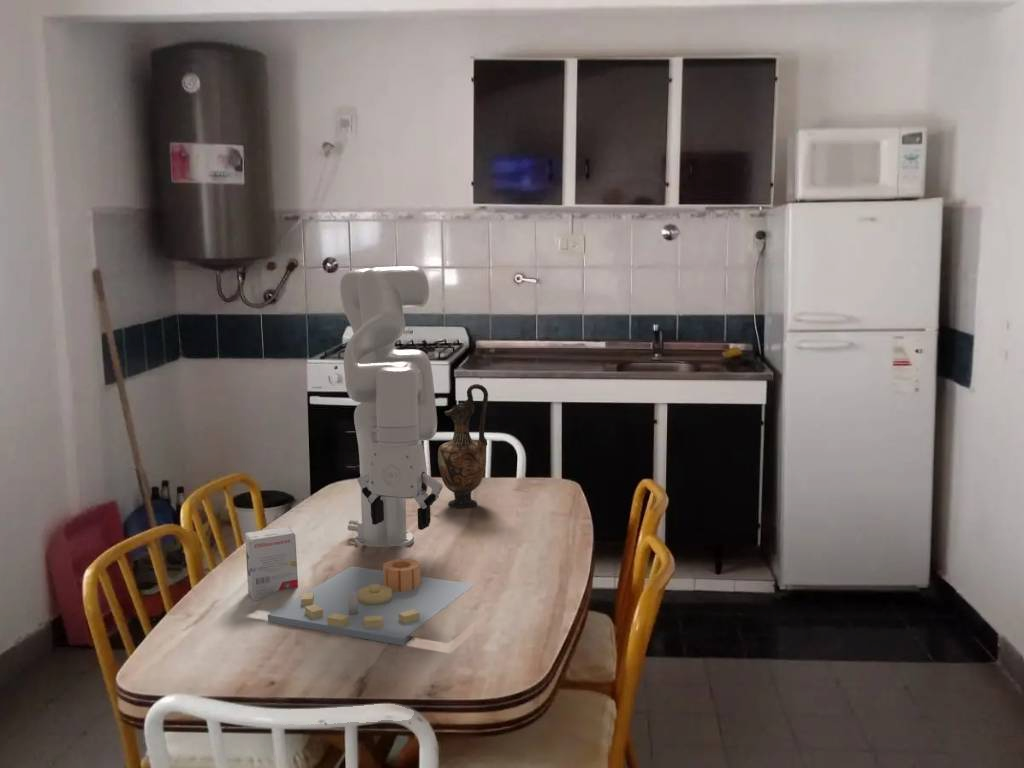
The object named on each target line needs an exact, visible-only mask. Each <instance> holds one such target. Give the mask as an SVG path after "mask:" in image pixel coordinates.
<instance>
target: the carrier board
mask: <svg viewBox="0 0 1024 768" xmlns="http://www.w3.org/2000/svg"><path fill="white" fill-rule="evenodd" d="M420 584H421V585H420V586H419V587H418V588H416V589H412V590H410V591H404V592H401V591H399V592H396V591H392V590H391V588H390V587H387V586H383V570H379V569H374V568H373V569H372V568H368V567H366V568H365V567H359V566H353V565H351V566H349V567H348V568H346V569H344V570H343V571H340V572H339V573H337V574H336V575H333V576H332V577H331V578H329V579H327V580H325V581H324V582H322V583H320V584H318V585H317V586H314V587H313V588H312V589H309V590H308V591H307V592H301V593H302V594H301V595H299V596H297V597H296V598H294V599H292V600H291V601H289V602H287V603H286V604H284V605H282V606H280V607H279V608H276V609H275V610H273V611H272V612H270V613H268V614H267V622H270V623H271V622H272V623H276V624H281V625H288V626H290V627H292V626H293V627H298V628H302V629H303V628H304V629H308V630H309V629H310V630H315V631H320V632H324V633H330V634H335V635H341V636H347V637H352V638H358V639H363V640H368V641H369V640H370V641H375V642H381V643H385V644H392V645H396V646H401V647H402V646H403V647H404V646H405V645H406V644H408V643H409V642H410V641H412V640H413V639H414V638H415V636H412V635H411V634H412V633H413V632H415V631H416V630H417V629H418V628H420V627H421V626H423V625H424V624H425V623H426V622H428V621H429V620H430V619H432V618H433V617H434V616H436V615H437V614H438V613H440V612H441V611H442V610H444V609H445V608H446V607H448V606H449V605H450V604H451V603H453V602H454V601H456V600H457V599H458V598H460V597H461V596H462V595H464V593H466V592H467V591H469V590H470V589H472V588H473V587H475V583H474V584H473V583H466V582H460V581H456V580H454V581H452V580H447V579H439V578H433V577H428V576H427V577H425V576H421V575H420Z"/></svg>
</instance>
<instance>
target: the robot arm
mask: <svg viewBox="0 0 1024 768" xmlns="http://www.w3.org/2000/svg"><path fill="white" fill-rule="evenodd" d="M339 289H340V290H339V291H340V299H341V303H342V307H343V311H344V314H345V316H346V318H347V320H348V322H349V325H350V328H351V330H352V332H353V335H351V337H350V339H349V340H348V341H347V344H346V346H345V350H344V354H343V368H344V369H343V370H344V373H343V374H344V382H345V388H346V392H347V396H348V397H349V398H350V399H351V400H352V401H353V402H357V403H359V404H358V405H357V406H356V407H355V409H354V412H353V420H354V421H353V422H354V427H355V429H354V430H355V432H356V438H357V439H356V440H357V446H358V455H359V458H358V459H359V474H360V476H359V477H358V478H357V482H358V485H359V487H360V505H361V506H360V508H361V520H359V519H356V518H355V519H354V518H353V519H352V518H350V519H349V521H348V525H347V530H348V531H352V532H356V533H357V535H356V536H355V538H354V544H355V546H357V547H360V546H367V547H374V548H375V547H379V548H380V547H381V548H384V547H394V546H395V547H402V548H407V547H409V546H410V545H412V544H413V543H414V540H415V537H414V534H413V533H411V532H410V531H408V530H407V510H406V509H407V506H406V505H407V503H406V502H407V500H411V499H414V500H415V502H416V503H417V504H418V506H419V508H417V529H418V530H419V531H422V530H424V529H427V528H428V527H429V526H430V524H431V518H432V517H431V506H432V505H433V504H434V503H435V502H436V500H438V498H440V497H439V495H440V494H441V491H442V489H443V486H444V485H443V484H442V483H441V482H440V481H438V480H437V479H435V478H433V477H432V476H430V474H428V470H427V469H428V468H427V462H426V456H425V455H426V454H425V449H424V446H423V442H422V441H427V440H428V441H429V440H431V439H432V438H434V437H435V435H436V434H437V430H438V415H437V404H436V395H435V386H434V378H433V377H434V376H433V370H432V369H433V367H432V365H431V361H430V357H429V356H428V355H427V353H426V352H425V351H423V350H421V349H397V348H396V343H395V342H396V341H397V340H399V339H400V338H401V337H402V336H403V334H404V333H405V330H406V320H405V314H404V309H403V308H423V307H424V306H426V304H427V303H428V301H429V295H430V285H429V280H428V277H427V275H426V273H425V271H424V270H423V269H422V268H420V267H418V266H379V267H373V268H371V267H370V268H360V269H352V270H351V271H348V272H346V273H345V274H343V276H341V279H340V285H339ZM428 487H430V488H431V492H430V494H428V492H427V491H428ZM406 499H407V500H406Z"/></svg>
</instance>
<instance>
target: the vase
mask: <svg viewBox="0 0 1024 768" xmlns="http://www.w3.org/2000/svg"><path fill="white" fill-rule="evenodd" d="M474 389H475V390H480V391H481V392H482V394H483V400H482V403H481V410H480V416H479V417H480V418H479V426H478V427H479V428H478V440H477V441H476V440H474V439H473V438H471V434H470V424H469V423H470V419H471V417H472V415H473V414H474V413H475V407H476V406H475V402H474V396H473V390H474ZM466 396H467V399H466V400H465V401H464V402H459V403H458V404H455V405H453V406H452V407H451V409H449V410H447V409H446V410H445V411H444V414H445V417H450V418H451V420H452V421H453V424H454V428H453V429H454V431H453V436H452V439H451V440H450V441H447V442H444V443H442V444H441V445H440V446H438V447H439V448H438V450H437V463H438V468H439V473H440V477H441V480H442V482H443V484H444V485H445V488H447V489H448V490H449V491H451V492H452V493H453V495H454V499H452V500H450V501H448V503H447V505H448V507H449V508H453V509H468V508H473V507H475V506H477V505H478V501H476V500H475V499H472V492H473V491H474V490H476V489H477V488H478V487H479V485H480V484H481V483H482V480H483V477H484V475H485V470H486V463H487V451H486V447H487V446H488V441H487V439H486V436H485V423H486V416H487V415H486V414H487V408H488V401H489V393H488V390H487V388H486V387H485V386H484V385H482V384H479V383H475V384H471V385H470V386H469V387H468V388H467V391H466Z"/></svg>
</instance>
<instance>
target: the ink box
mask: <svg viewBox="0 0 1024 768" xmlns="http://www.w3.org/2000/svg"><path fill="white" fill-rule="evenodd" d="M244 535H245V555H246V557H245V558H246V576H247V592H248V595H249V596H250V597H251V599H252V600H253V601H259V600H264V599H265V598H268V597H269V596H271V595H273V594H275V593H277V592H278V591H284V590H289V589H295V588H299V580H298V579H299V578H298V577H299V576H298V560H297V559H298V558H297V542H296V534H295V532H294V531H293V530H292V529H291V527H290V526H286V527H280V528H273V529H264V530H263V529H262V530H258V531H257V530H256V531H250V532H245V534H244Z"/></svg>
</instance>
